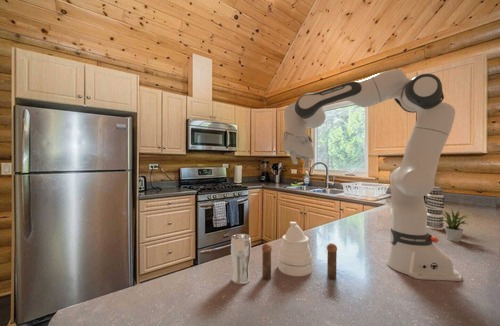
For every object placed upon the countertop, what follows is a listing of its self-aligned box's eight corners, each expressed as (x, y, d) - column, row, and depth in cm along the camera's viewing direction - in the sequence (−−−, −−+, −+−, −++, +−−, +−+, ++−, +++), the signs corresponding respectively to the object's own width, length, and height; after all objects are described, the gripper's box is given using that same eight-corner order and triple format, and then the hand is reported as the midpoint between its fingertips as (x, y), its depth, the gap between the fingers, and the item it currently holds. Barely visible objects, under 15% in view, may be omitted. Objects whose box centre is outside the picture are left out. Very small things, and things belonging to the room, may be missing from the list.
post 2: (336, 275, 85) (336, 242, 84) (337, 280, 81) (337, 245, 81) (326, 274, 85) (326, 241, 85) (326, 279, 82) (327, 244, 82)
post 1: (272, 276, 84) (272, 242, 84) (270, 280, 81) (270, 246, 81) (263, 274, 85) (263, 241, 85) (260, 279, 82) (260, 245, 82)
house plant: (476, 248, 111) (476, 213, 111) (438, 242, 119) (438, 209, 119) (471, 240, 122) (472, 208, 122) (437, 234, 131) (438, 205, 131)
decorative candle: (425, 228, 143) (426, 187, 143) (424, 224, 151) (425, 185, 151) (444, 230, 138) (445, 188, 138) (443, 227, 146) (443, 186, 145)
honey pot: (305, 279, 82) (306, 228, 82) (272, 270, 89) (272, 222, 88) (316, 265, 93) (316, 220, 92) (286, 258, 100) (286, 215, 99)
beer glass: (248, 286, 77) (248, 240, 77) (228, 284, 79) (228, 239, 79) (252, 276, 84) (252, 234, 84) (233, 274, 86) (233, 233, 85)
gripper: (289, 127, 98) (294, 158, 93) (314, 140, 112) (319, 168, 107) (277, 132, 101) (281, 162, 97) (302, 145, 116) (306, 172, 111)
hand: (301, 165), depth 102 cm, fingers open, 8 cm apart
